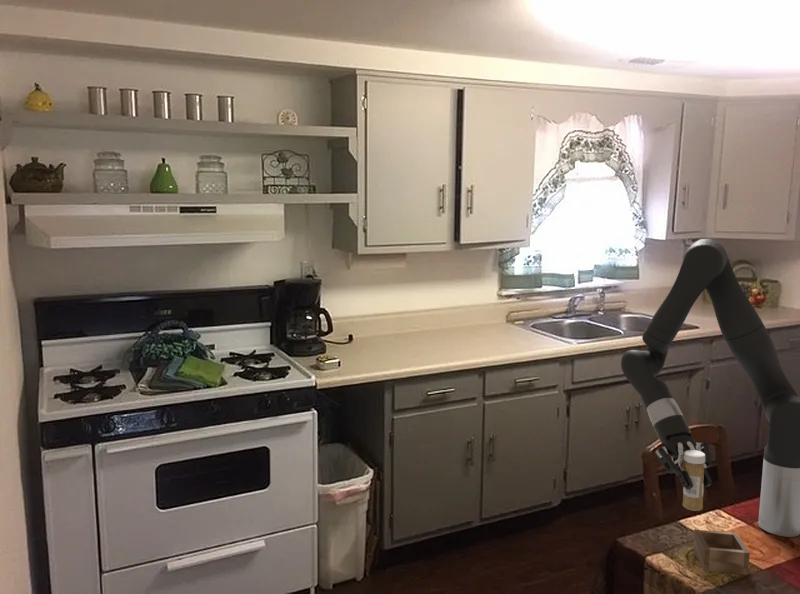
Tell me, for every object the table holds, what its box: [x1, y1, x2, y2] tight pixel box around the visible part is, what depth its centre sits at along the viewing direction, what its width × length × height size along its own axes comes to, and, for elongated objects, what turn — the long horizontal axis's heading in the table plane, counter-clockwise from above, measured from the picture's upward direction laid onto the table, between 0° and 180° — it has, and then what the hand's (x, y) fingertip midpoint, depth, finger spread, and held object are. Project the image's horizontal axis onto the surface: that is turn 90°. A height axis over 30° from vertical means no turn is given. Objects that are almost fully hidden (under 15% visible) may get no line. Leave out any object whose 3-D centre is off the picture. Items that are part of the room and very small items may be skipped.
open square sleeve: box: [692, 529, 751, 576], centre depth 150 cm, size 9×9×5 cm
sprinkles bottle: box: [682, 449, 705, 512], centre depth 159 cm, size 5×5×13 cm
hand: (699, 486), depth 157 cm, fingers closed on sprinkles bottle, 4 cm apart
